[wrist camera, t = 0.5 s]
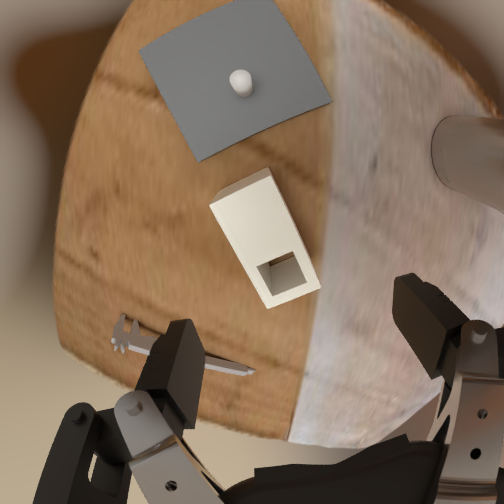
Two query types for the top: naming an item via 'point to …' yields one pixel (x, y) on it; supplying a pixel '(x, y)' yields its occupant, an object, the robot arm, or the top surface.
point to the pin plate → (213, 65)
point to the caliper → (146, 342)
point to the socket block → (265, 238)
